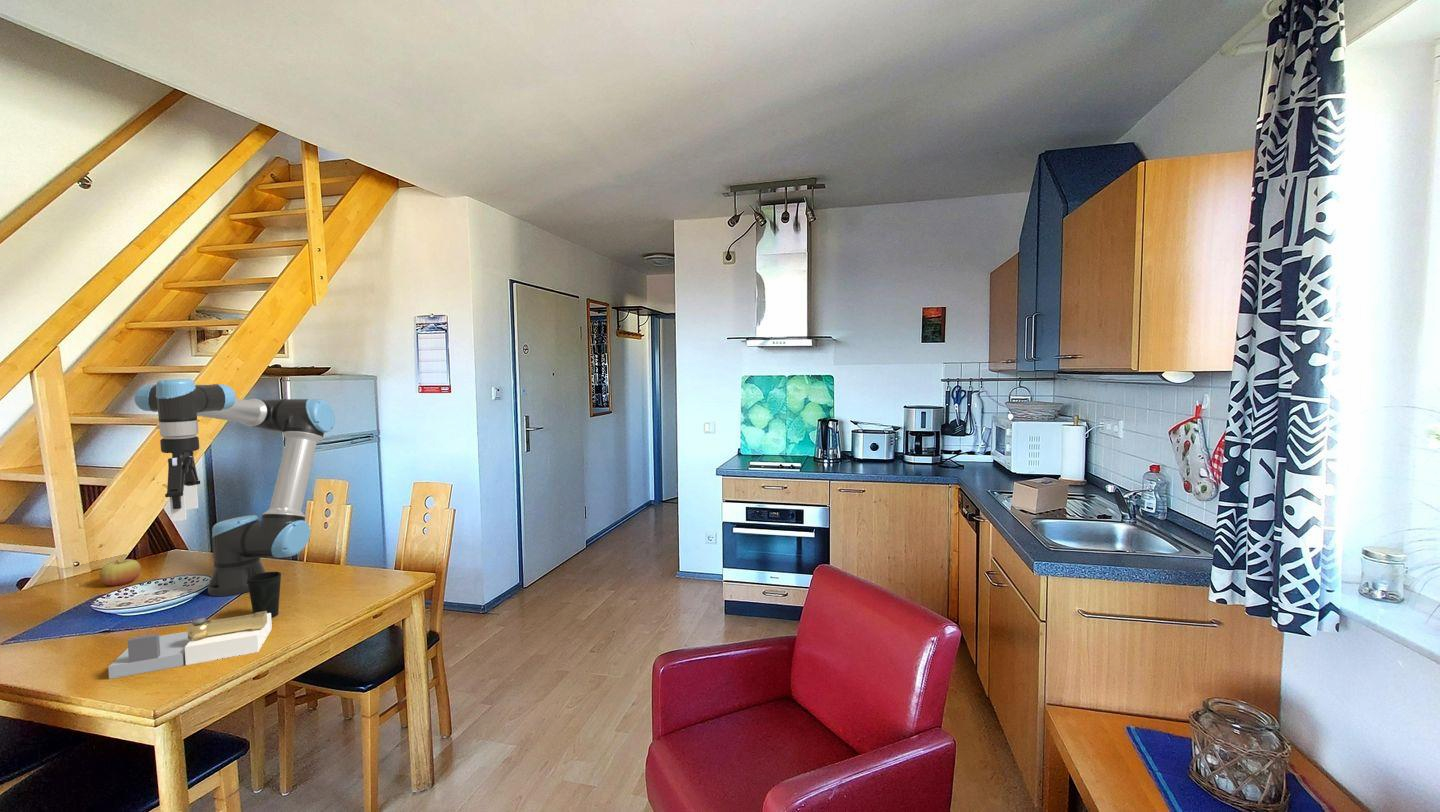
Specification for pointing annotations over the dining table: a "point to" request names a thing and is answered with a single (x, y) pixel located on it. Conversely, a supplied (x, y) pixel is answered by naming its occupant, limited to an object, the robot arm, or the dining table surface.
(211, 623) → the bar
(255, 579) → the cup
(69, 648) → the dining table surface
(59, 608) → the dining table surface
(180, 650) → the doorframe
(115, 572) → the apple
